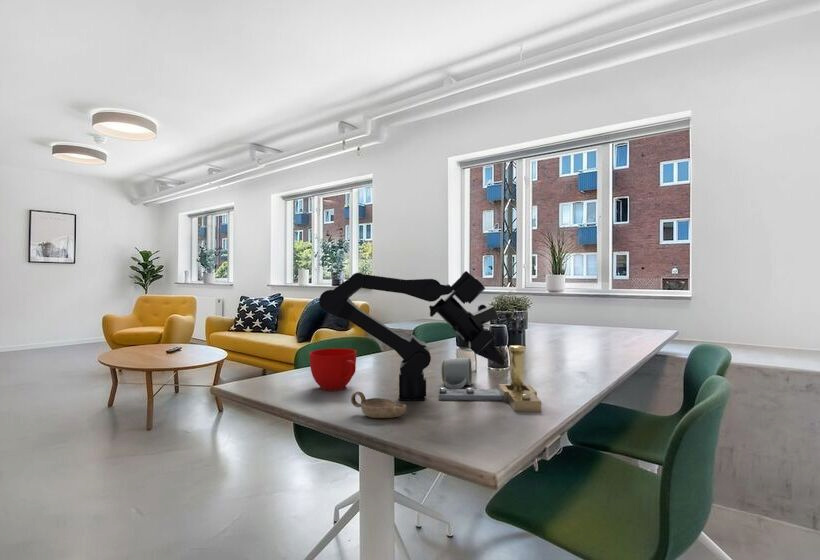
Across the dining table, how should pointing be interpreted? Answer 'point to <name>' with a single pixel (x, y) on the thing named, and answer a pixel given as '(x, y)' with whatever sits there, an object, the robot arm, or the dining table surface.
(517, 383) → the pin
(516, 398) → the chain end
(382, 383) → the dining table surface
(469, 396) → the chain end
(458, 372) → the ceramic mug
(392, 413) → the oil lamp
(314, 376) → the ceramic cup
